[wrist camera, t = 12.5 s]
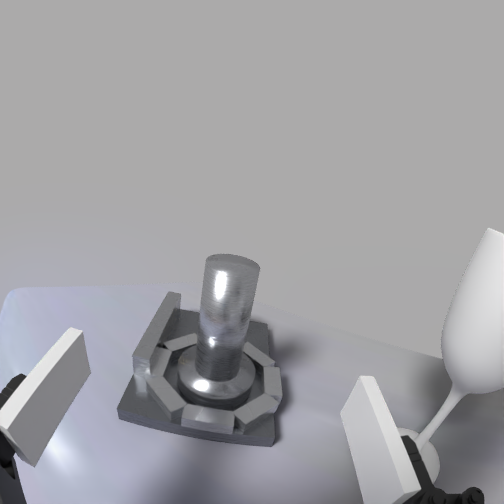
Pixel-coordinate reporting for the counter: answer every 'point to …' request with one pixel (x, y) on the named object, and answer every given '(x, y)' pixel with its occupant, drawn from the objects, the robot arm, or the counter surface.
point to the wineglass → (471, 339)
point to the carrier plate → (182, 409)
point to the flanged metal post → (221, 336)
